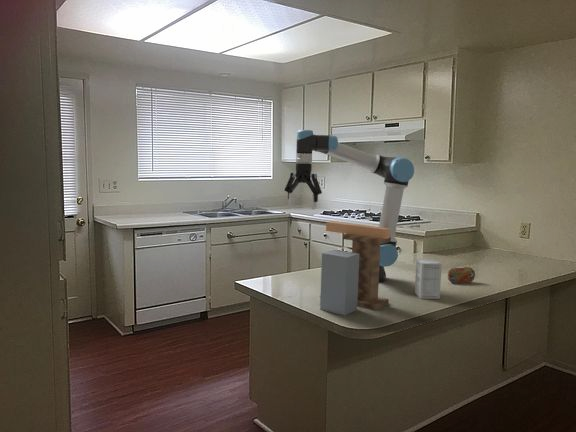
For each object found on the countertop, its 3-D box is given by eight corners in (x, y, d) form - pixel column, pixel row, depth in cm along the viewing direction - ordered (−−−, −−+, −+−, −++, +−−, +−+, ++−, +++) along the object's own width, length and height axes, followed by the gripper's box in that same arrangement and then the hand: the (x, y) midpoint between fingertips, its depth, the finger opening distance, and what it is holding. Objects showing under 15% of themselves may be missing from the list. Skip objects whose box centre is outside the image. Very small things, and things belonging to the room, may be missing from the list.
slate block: (320, 309, 203) (321, 253, 200) (333, 303, 211) (335, 249, 208) (344, 315, 196) (346, 257, 193) (357, 309, 203) (359, 253, 200)
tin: (449, 284, 249) (450, 268, 248) (446, 282, 252) (447, 267, 251) (474, 283, 253) (475, 267, 252) (471, 281, 256) (472, 265, 255)
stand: (339, 301, 215) (341, 234, 211) (353, 295, 224) (355, 231, 220) (375, 310, 204) (378, 239, 200) (388, 303, 213) (391, 236, 209)
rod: (325, 230, 221) (326, 222, 220) (330, 230, 224) (331, 221, 223) (385, 239, 202) (386, 229, 202) (389, 237, 206) (390, 228, 205)
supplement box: (433, 293, 231) (435, 258, 229) (440, 299, 222) (442, 263, 220) (413, 293, 231) (415, 258, 229) (419, 298, 222) (421, 262, 220)
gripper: (278, 162, 233) (277, 205, 236) (321, 163, 218) (319, 210, 221) (287, 162, 239) (286, 204, 242) (330, 164, 224) (328, 209, 227)
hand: (302, 207), depth 231 cm, fingers open, 13 cm apart
